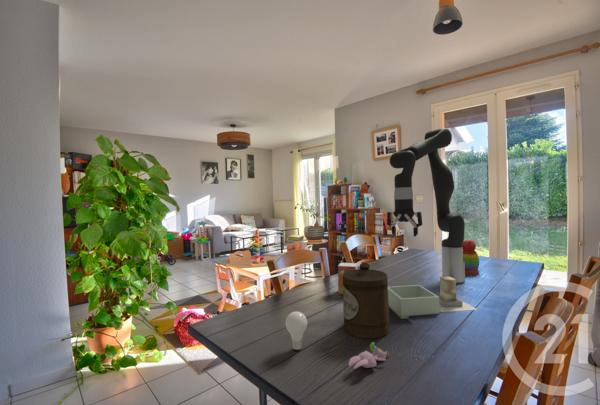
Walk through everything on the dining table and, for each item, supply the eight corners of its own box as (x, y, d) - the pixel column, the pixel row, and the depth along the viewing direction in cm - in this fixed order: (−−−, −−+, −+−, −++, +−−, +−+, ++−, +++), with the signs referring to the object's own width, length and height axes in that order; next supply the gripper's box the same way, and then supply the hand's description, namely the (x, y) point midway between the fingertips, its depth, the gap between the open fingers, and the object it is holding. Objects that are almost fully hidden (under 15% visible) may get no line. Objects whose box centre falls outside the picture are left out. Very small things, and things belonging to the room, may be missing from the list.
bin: (419, 301, 119) (419, 284, 119) (439, 316, 105) (439, 296, 105) (386, 304, 118) (385, 286, 118) (401, 318, 104) (401, 299, 104)
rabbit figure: (374, 355, 84) (340, 369, 74) (375, 334, 84) (342, 344, 74) (394, 364, 79) (361, 380, 69) (395, 341, 80) (363, 354, 70)
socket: (454, 298, 122) (454, 291, 122) (477, 312, 108) (477, 304, 108) (422, 300, 121) (421, 293, 120) (441, 314, 107) (441, 306, 106)
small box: (338, 294, 131) (337, 265, 131) (340, 290, 137) (340, 262, 137) (356, 295, 129) (355, 266, 128) (358, 291, 135) (357, 263, 134)
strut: (450, 301, 116) (449, 276, 116) (456, 305, 112) (455, 279, 112) (440, 302, 116) (440, 277, 116) (446, 305, 112) (445, 279, 112)
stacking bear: (459, 269, 167) (459, 238, 166) (480, 271, 161) (479, 239, 160) (456, 273, 158) (456, 240, 158) (478, 276, 152) (478, 242, 152)
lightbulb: (286, 344, 89) (284, 308, 88) (306, 343, 89) (305, 307, 89) (286, 356, 82) (285, 317, 82) (309, 354, 83) (308, 315, 83)
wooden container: (341, 319, 106) (340, 258, 105) (383, 318, 105) (381, 257, 104) (346, 339, 91) (345, 269, 90) (395, 338, 90) (393, 268, 90)
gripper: (423, 197, 125) (424, 235, 125) (389, 198, 133) (390, 233, 133) (419, 198, 119) (420, 238, 119) (384, 198, 126) (385, 236, 127)
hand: (404, 235), depth 126 cm, fingers open, 8 cm apart
